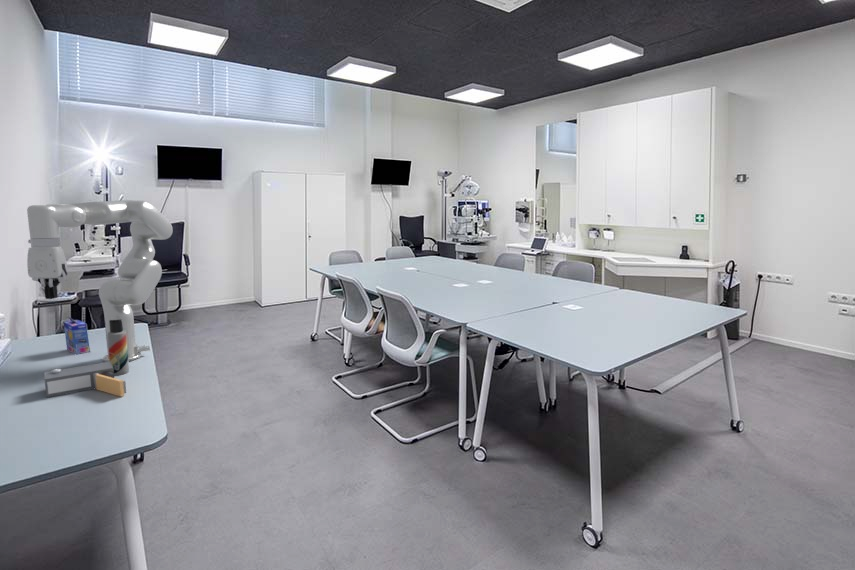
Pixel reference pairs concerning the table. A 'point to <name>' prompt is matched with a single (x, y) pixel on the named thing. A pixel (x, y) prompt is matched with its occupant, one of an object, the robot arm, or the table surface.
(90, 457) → the table surface
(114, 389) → the tall beige panel
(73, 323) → the ink cartridge box
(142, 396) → the table surface
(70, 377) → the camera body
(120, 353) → the lotion bottle
